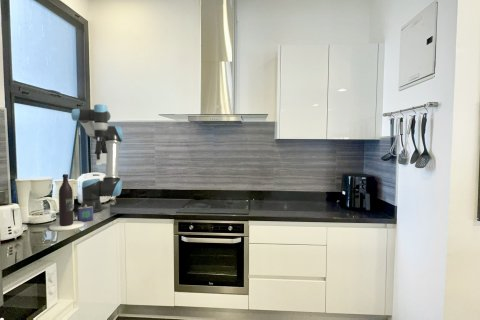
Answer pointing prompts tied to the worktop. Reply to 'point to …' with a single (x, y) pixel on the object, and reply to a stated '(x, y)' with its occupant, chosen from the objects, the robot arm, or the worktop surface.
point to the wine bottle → (65, 203)
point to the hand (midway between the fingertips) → (101, 164)
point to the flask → (85, 213)
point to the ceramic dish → (65, 228)
